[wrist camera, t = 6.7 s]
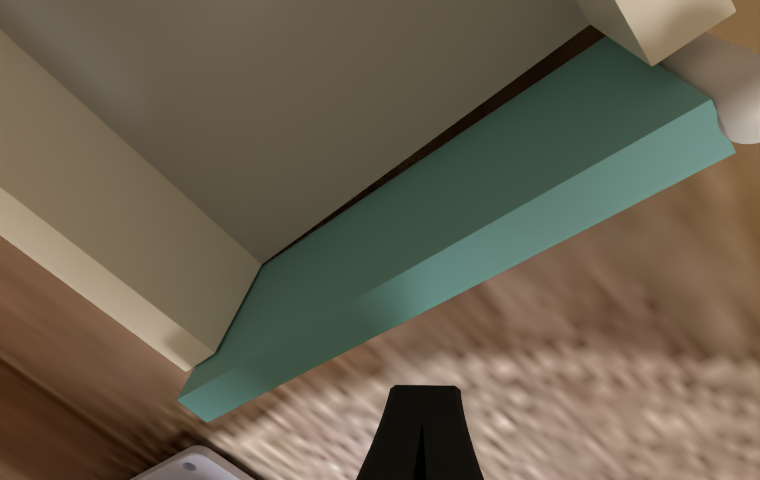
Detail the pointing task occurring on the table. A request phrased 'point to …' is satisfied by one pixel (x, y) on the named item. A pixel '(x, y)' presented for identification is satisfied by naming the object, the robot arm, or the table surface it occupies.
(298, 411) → the table surface
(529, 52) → the bay
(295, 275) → the gate
